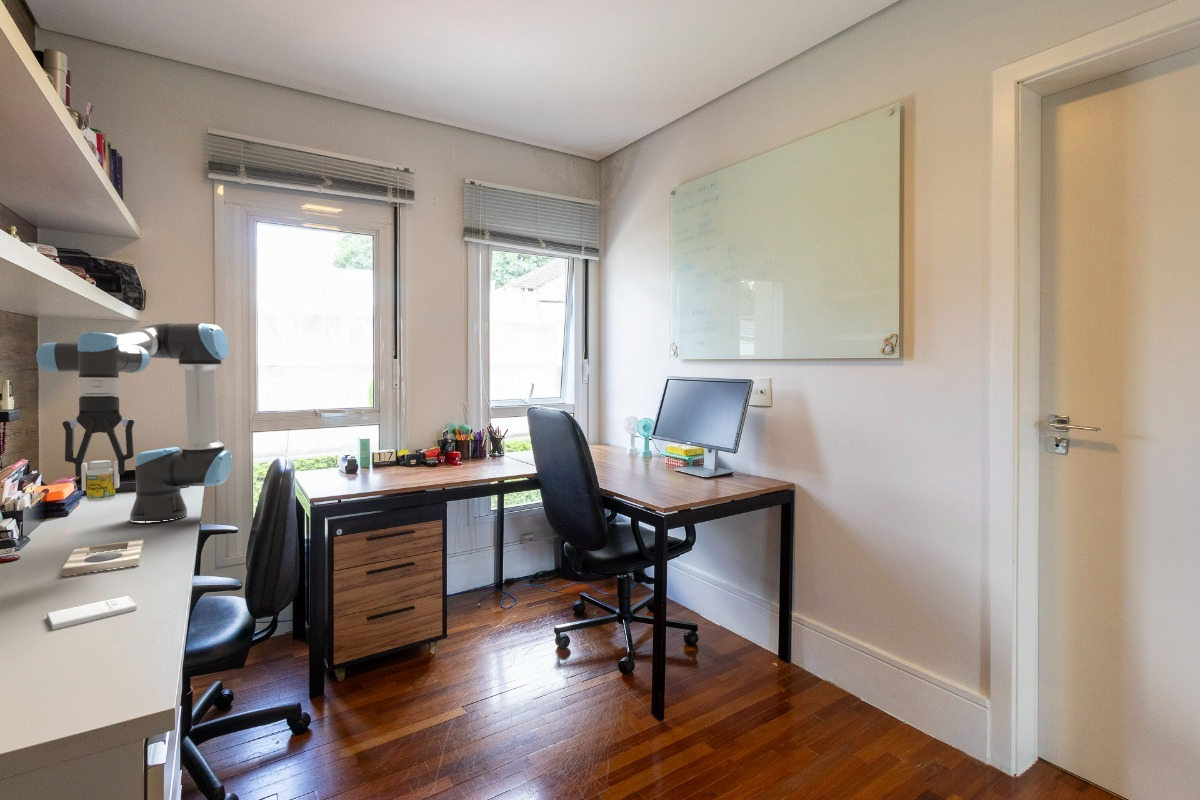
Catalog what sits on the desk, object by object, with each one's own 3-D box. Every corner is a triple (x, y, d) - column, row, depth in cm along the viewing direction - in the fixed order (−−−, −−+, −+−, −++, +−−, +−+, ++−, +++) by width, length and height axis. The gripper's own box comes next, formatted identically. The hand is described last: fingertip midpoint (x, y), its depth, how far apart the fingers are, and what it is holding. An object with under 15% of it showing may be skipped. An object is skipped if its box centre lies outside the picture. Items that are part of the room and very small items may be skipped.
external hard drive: (47, 620, 112) (128, 602, 122) (52, 632, 107) (136, 612, 116) (46, 612, 112) (127, 594, 121) (52, 624, 107) (136, 604, 116)
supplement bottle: (118, 496, 146) (117, 459, 146) (111, 500, 141) (110, 462, 141) (91, 498, 144) (90, 460, 143) (83, 502, 139) (82, 463, 139)
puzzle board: (75, 555, 151) (75, 546, 151) (143, 546, 159) (143, 538, 159) (62, 577, 135) (62, 567, 134) (138, 566, 143) (138, 556, 143)
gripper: (45, 395, 133) (47, 494, 134) (145, 395, 144) (147, 487, 145) (51, 395, 139) (53, 490, 140) (147, 394, 150) (148, 482, 151)
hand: (100, 488), depth 142 cm, fingers closed on supplement bottle, 5 cm apart
